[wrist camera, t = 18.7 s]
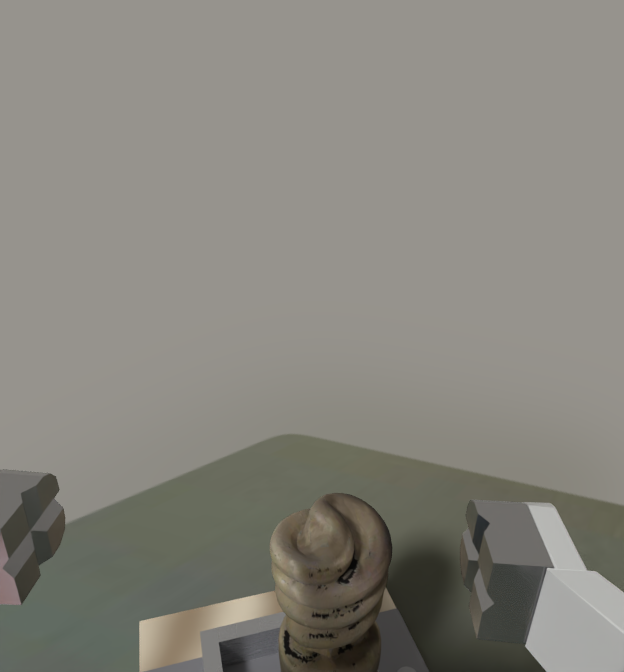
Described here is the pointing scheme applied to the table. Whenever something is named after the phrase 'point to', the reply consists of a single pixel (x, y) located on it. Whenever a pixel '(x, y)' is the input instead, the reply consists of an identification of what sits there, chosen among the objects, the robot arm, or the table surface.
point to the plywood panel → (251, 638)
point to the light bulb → (331, 585)
